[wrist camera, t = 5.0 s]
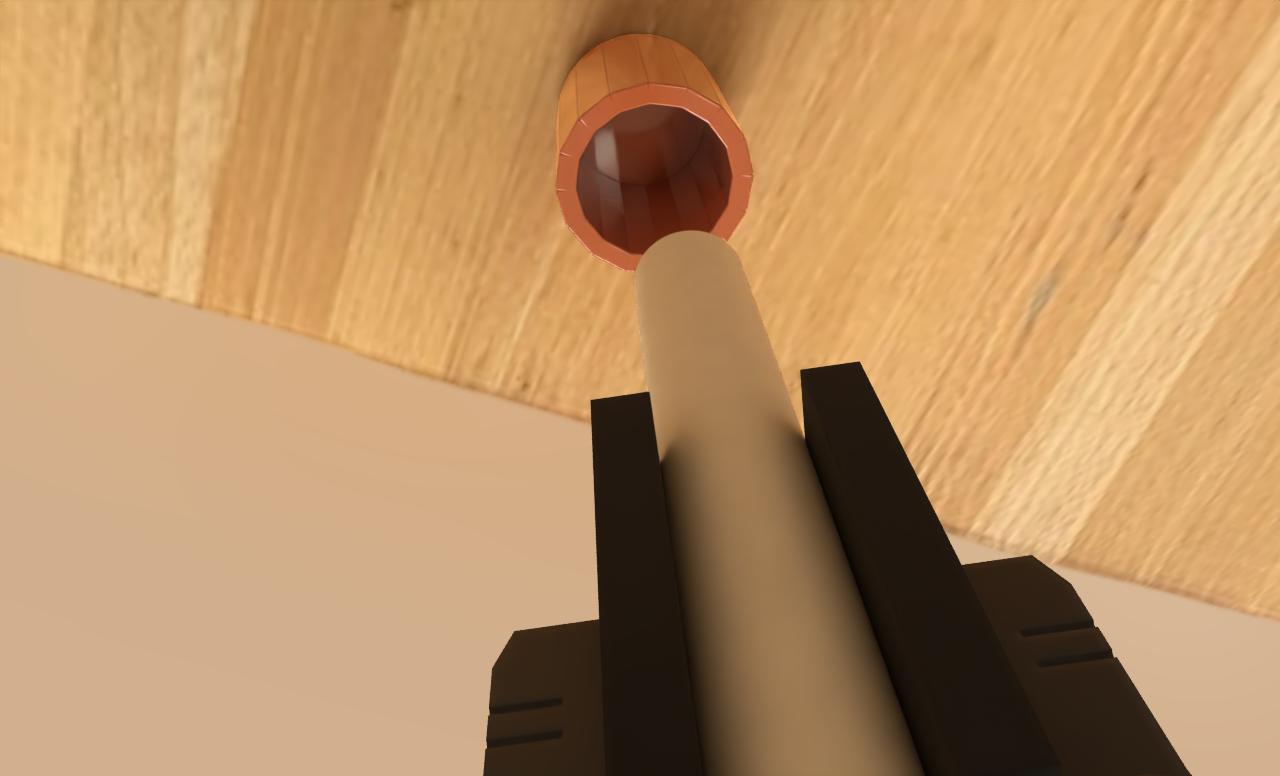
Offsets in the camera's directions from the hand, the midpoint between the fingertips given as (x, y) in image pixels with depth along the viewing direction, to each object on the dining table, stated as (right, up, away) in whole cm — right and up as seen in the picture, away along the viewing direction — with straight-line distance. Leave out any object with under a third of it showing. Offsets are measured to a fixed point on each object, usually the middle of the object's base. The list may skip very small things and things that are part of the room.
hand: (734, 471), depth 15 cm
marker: (0, +4, +7) cm, 7 cm away
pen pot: (-1, +9, +17) cm, 19 cm away
